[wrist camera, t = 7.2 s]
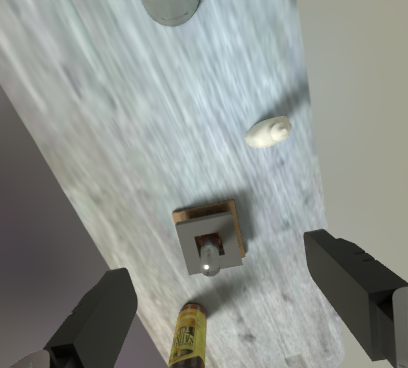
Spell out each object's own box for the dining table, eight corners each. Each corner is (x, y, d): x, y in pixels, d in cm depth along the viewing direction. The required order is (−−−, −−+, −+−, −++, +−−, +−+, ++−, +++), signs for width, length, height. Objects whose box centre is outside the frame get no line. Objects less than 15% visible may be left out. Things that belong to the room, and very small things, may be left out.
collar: (176, 222, 38) (175, 225, 36) (230, 210, 37) (231, 214, 36) (189, 269, 40) (189, 275, 38) (241, 259, 39) (242, 264, 38)
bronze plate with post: (172, 212, 41) (160, 239, 30) (233, 199, 40) (242, 222, 29) (187, 265, 43) (180, 307, 33) (244, 254, 43) (257, 294, 32)
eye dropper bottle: (276, 143, 37) (307, 147, 26) (244, 146, 38) (261, 152, 26) (275, 118, 36) (307, 110, 25) (243, 121, 37) (260, 115, 25)
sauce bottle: (195, 296, 45) (185, 418, 26) (212, 316, 46) (215, 447, 27) (171, 311, 46) (145, 438, 27) (188, 330, 47) (175, 465, 28)
